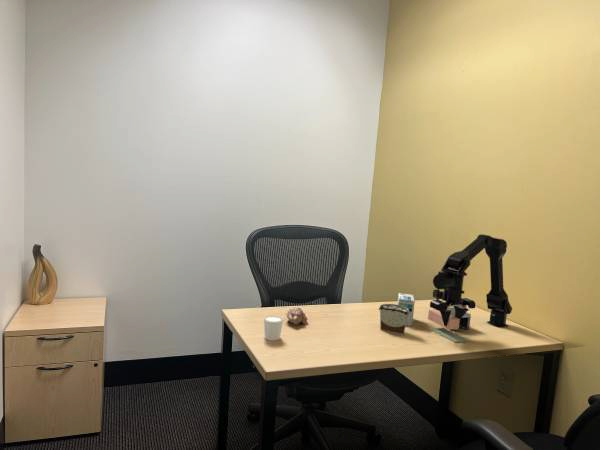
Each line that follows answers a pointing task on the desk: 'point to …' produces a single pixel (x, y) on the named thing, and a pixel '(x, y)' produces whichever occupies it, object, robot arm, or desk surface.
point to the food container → (393, 318)
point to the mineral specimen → (296, 316)
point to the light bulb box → (407, 305)
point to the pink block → (437, 318)
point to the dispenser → (462, 319)
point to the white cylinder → (272, 327)
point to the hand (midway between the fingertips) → (450, 325)
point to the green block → (449, 335)
